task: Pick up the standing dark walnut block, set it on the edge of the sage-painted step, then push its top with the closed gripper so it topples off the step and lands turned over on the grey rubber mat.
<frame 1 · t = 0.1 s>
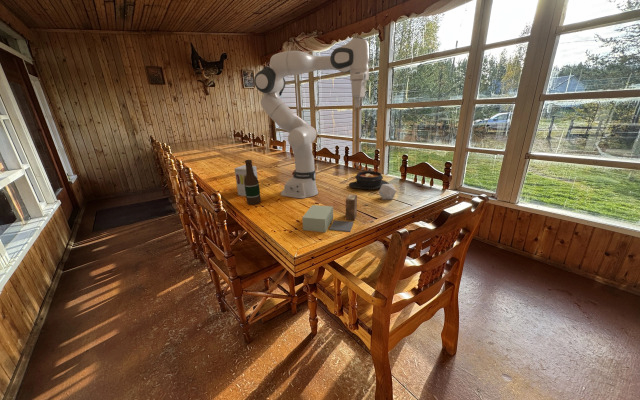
hand: (358, 107, 129), 48 cm above the table, fingers open, 8 cm apart
casserole: (368, 187, 162), on the table
walnut block: (351, 217, 121), on the table
supplement box: (249, 194, 158), on the table
step: (318, 223, 115), on the table
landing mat: (341, 226, 112), on the table
die: (386, 198, 142), on the table
beer bottle: (254, 202, 143), on the table
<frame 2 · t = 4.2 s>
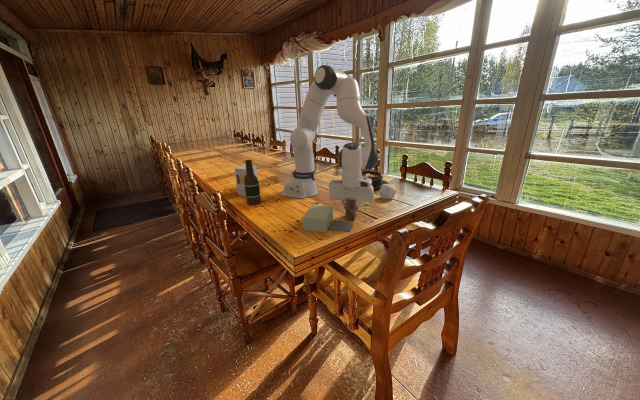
hand: (351, 209, 119), 4 cm above the table, fingers closed on walnut block, 4 cm apart
walnut block: (351, 217, 121), on the table, touching gripper
everything else where it was.
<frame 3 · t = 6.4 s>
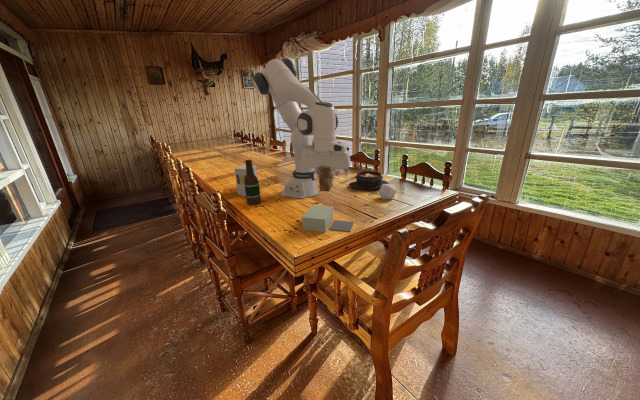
hand: (325, 178, 107), 21 cm above the table, fingers closed on walnut block, 4 cm apart
walnut block: (326, 188, 109), point 17 cm above the table, touching gripper
everything else where it was.
when the fingers open (11 cm above the table, at t = 8.7 s): walnut block stays where it is, resting on step.
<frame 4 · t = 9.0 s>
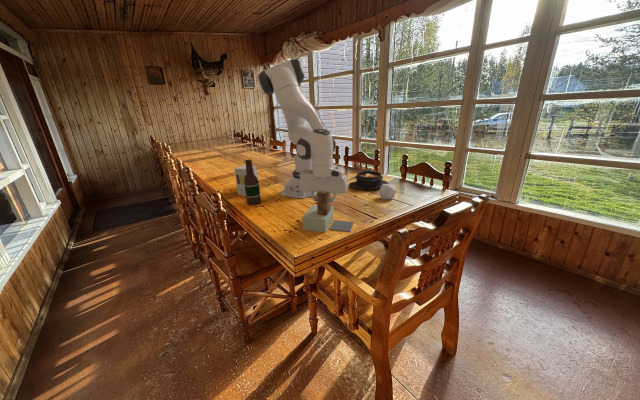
hand: (324, 201, 110), 11 cm above the table, fingers open, 6 cm apart
walnut block: (324, 212, 112), point 6 cm above the table, touching step
everything else where it was.
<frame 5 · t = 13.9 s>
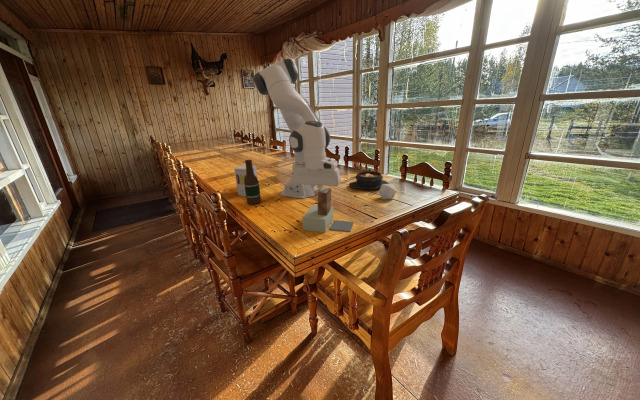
hand: (316, 194, 110), 14 cm above the table, fingers closed
walnut block: (324, 211, 112), point 6 cm above the table, touching gripper, step
everything else where it was.
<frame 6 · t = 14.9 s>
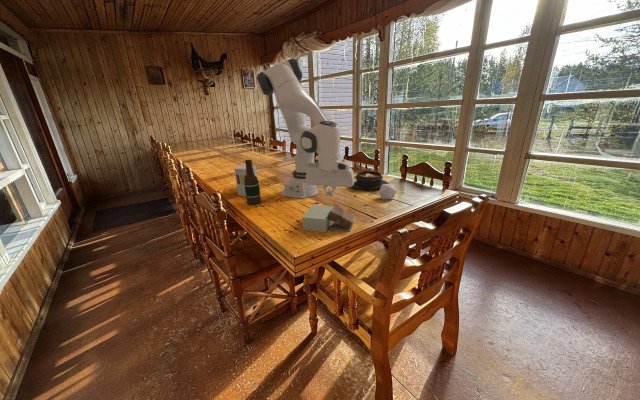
hand: (329, 195, 108), 14 cm above the table, fingers closed
walnut block: (331, 211, 111), point 6 cm above the table, tilted 115°, touching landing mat, step
everything else where it was.
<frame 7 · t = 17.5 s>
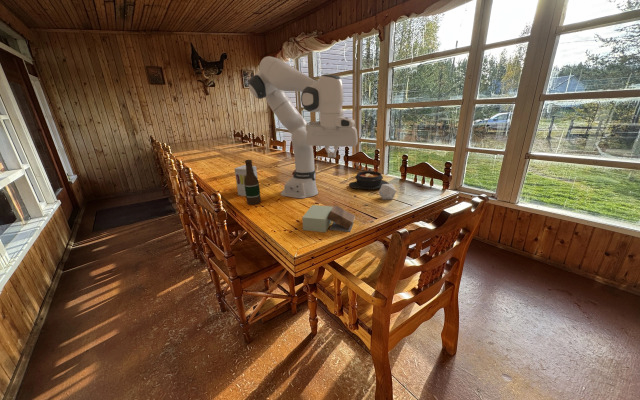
hand: (331, 157, 103), 30 cm above the table, fingers closed
nothing on the table moved.
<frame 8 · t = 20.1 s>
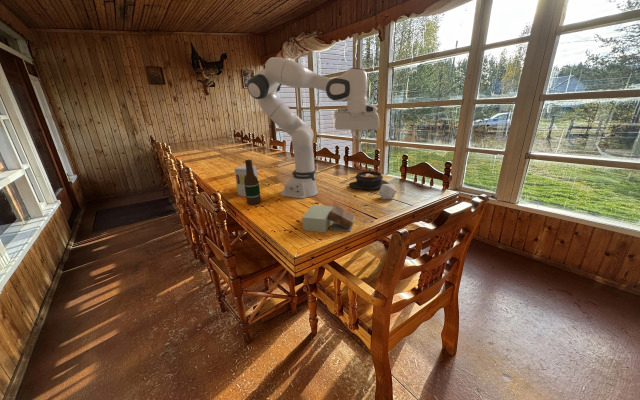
hand: (356, 139, 120), 34 cm above the table, fingers closed
nothing on the table moved.
at the end: walnut block tilted 115°; walnut block inside the target area (7.6 cm from its centre), point 6.5 cm above the table; the gripper is holding nothing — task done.
